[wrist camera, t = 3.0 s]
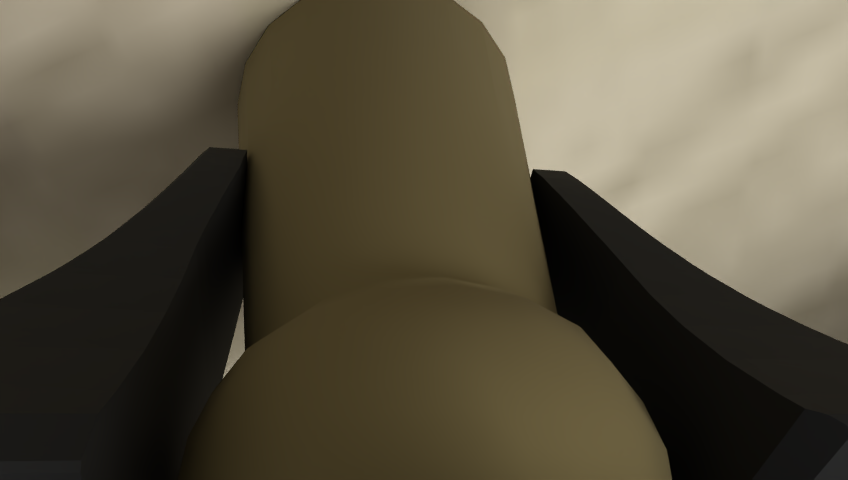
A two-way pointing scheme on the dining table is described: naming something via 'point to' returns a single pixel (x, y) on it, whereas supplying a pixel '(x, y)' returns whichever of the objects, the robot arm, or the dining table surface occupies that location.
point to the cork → (402, 272)
